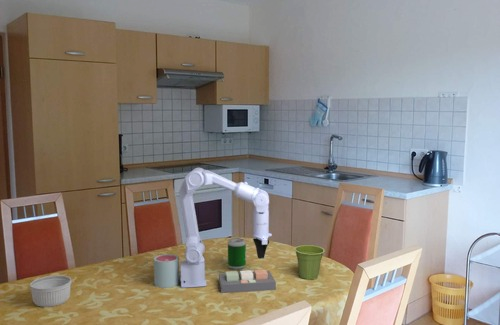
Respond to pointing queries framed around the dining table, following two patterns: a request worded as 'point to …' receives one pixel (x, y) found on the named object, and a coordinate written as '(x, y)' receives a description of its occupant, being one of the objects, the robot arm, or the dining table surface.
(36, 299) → the ramekin
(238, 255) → the soda can
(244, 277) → the cream key
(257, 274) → the terracotta key
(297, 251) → the plant pot
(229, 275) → the sage key
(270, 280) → the keypad
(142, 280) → the dining table surface
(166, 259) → the mug
